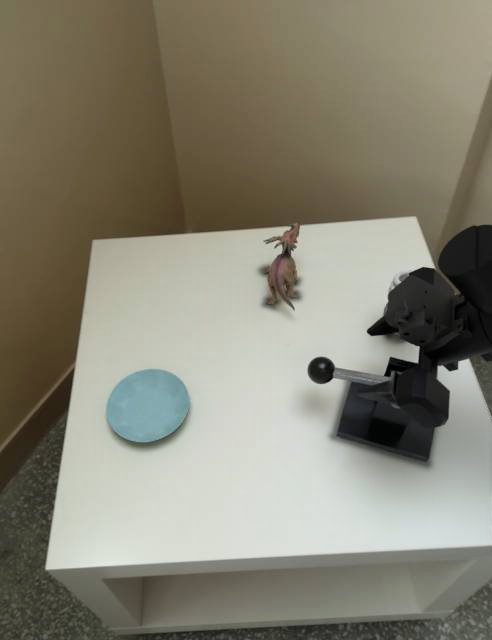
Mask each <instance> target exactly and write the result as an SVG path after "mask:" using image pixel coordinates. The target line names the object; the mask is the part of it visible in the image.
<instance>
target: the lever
mask: <svg viewBox="0 0 492 640" xmlns="http://www.w3.org/2000/svg"><path fill="white" fill-rule="evenodd" d="M306 371H307V376H308V378H309V379H310V380H311V381H312V382H313V383H315V384H317V385H326V384H328V383H330V382H332V381H333V379H336V380H341V381H347V382H351V381H352V382H357V383H362V384H368V385H375V384H379V383H382V382H386V381H389V380H391V378H392V376H393V373H394V372H395V371H392V372H391V376H390V377H386V376H383V375H380V374H375V373H370V372H364V371H358V370H353V369H347V368H341V367H336V365H335V363H334V362H333V360H331V359H330V358H329V357H326V356H317V357H314V358H312V359H311V360H310V361H309V363H308V365H307V369H306ZM396 372H398V371H396ZM398 373H399V374H400V375H401V374H402V372H398Z"/></svg>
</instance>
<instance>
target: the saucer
mask: <svg viewBox="0 0 492 640" xmlns="http://www.w3.org/2000/svg"><path fill="white" fill-rule="evenodd" d="M189 407H190V394H189V391H188V388H187V386H186V384H185V383H184V381H183V380H182V379H181V378H180V377H179V376H178V375H176V374H174V373H172V372H170V371H168V370H165V369H161V368H146V369H145V368H144V369H141V370H137V371H135V372H132V373H130V374H128V375H127V376H124V377H123V378H122V379H121V380H120V381H119V382H118V383H116V385H115V386H114V388H113V389H112V390H111V392H110V393H109V396H108V398H107V402H106V405H105V414H106V419H107V422H108V424H109V426H110V428H111V429H112V430H113V432H115V433H116V434H117V435H118V436H119V437H121V438H123V439H125V440H127V441H130V442H131V441H132V442H135V443H150V442H154V441H157V440H161V439H163V438H165V437H167V436H169V435H170V434H172V433H173V432H175V431H176V430H177V429H178V428H179V427H180V426H181V424H182V423H183V422H184V420H185V419H186V417H187V415H188V411H189V409H190V408H189Z"/></svg>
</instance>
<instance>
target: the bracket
mask: <svg viewBox="0 0 492 640" xmlns="http://www.w3.org/2000/svg"><path fill="white" fill-rule="evenodd" d="M413 367H415V368H418V362H414V361H409V360H406V359H402V358H398V357H394V356H389V358H388V361H387V364H386V366H385V369H384V372H383V375H382V376H386V377H390V376H391V372H392V371H398V372H403V371H404V370H406V369H410V368H413ZM368 386H372V385H368V384H362V383H357V382H352V381H350V385H349V388H348V392H347V395H346V399H345V402H344V406H343V410H342V413H341V417H340V421H339V423H338V427H337V431H336V435H335V436H336V437H338V438H341V439H344V440H349V441H352V442H356V443H359V444H362V445H366V446H369V447H372V448H375V449H380V450H381V451H382V450H383V451H386V452H389V453H392V454H396V455H400V456H403V457H407V458H410V459H413V460H417V461H420V462H424V463H428V461H429V460H430V454H431V451H432V450H431V449H432V444H433V440H434V439H433V438H434V432H435V428H431V429H425V428H423V427H422V426H421V425H420V424H419V423H417V422H416V421H415V420H414V419H413V418H411V417H410V416H409V415H408V414H407V413H405V412H404V411H403V410H402V409H401V408H399V407H398V406H397V405H392V404H388V403H384V402H379V401H374V400H370V399H365V398H362V397H360V396H359V395H358V394H357V392H358V390H361V389H363V388H365V387H368Z"/></svg>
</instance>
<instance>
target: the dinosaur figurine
mask: <svg viewBox="0 0 492 640" xmlns="http://www.w3.org/2000/svg"><path fill="white" fill-rule="evenodd" d="M287 227H290V228H289V229H287V230H285V231H284V232H283V233H282V235H278V236H276V235H275V236H272V237H269V238H267V239H264V240H263V241H262V242H263V243H265V245H268V244H272V243H274V242H277V241H278V242H277V243H276V244H275V245H274V247H273V248H274V249H277V248H279V246H281V249H282V250H281V253H279V254H277V255H276V257H275V258H274V260H273V261H272V262H271V264H270V267H265V268H264V269H263V273H265V274H267V273H268V275H267V283H268V288H269V293H270V294H271V298H266V302H265V305H266V304H267V305H274V304H276V302H277V301H278V297H279V298H280V299H281V300H282V302H284V303H286V305H288V306H289V307H290V308H291V309H292V310H293V311H294V312H295V311H296V308H295V306H294V304H293V302H292V301H291V300H290V298H300V297H299V296H300V295H299V294H298V292H297V291H294V287H295V284H297V283H298V270H297V269H296V268H297V265H296V262H295V259H294V258H293V256H292V252H295V250H296V249H297V248H298V245H297V244H298V237H299V235H300V230H301V224H300V222H295V223H289V224H288V225H287ZM284 287H285V289H286V292H285V290H284ZM288 297H290V298H288Z"/></svg>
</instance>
